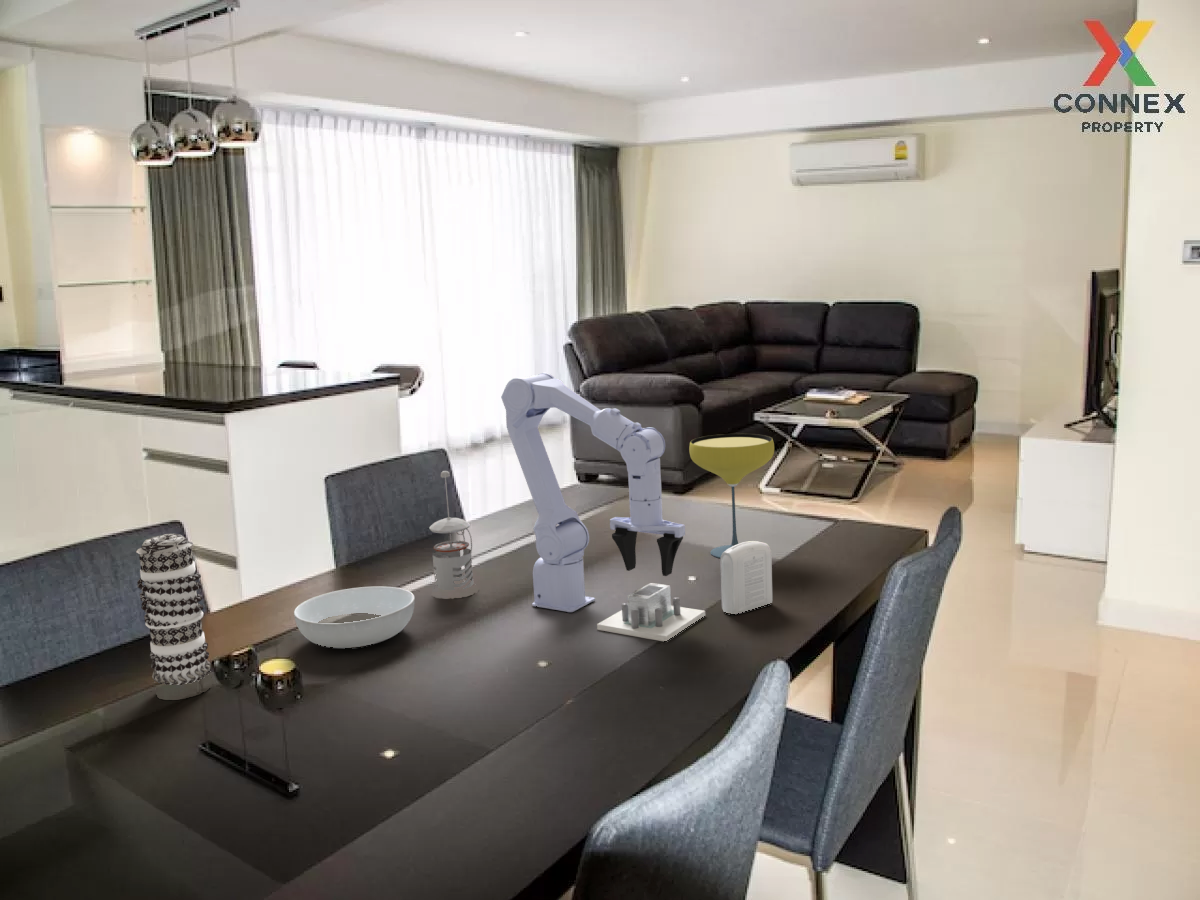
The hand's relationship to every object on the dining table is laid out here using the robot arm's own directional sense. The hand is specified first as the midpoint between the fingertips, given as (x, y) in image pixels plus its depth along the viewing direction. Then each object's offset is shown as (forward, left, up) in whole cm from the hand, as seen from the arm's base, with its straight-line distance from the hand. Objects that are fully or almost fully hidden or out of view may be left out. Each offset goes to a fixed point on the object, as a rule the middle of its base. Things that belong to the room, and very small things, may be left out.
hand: (648, 571), depth 175 cm
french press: (-44, -2, -9) cm, 45 cm away
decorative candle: (-51, -60, -9) cm, 79 cm away
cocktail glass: (-4, +44, -9) cm, 45 cm away
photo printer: (+14, +12, -9) cm, 20 cm away
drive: (+2, -3, -8) cm, 8 cm away
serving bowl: (-42, -31, -9) cm, 53 cm away
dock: (+2, -2, -9) cm, 9 cm away
